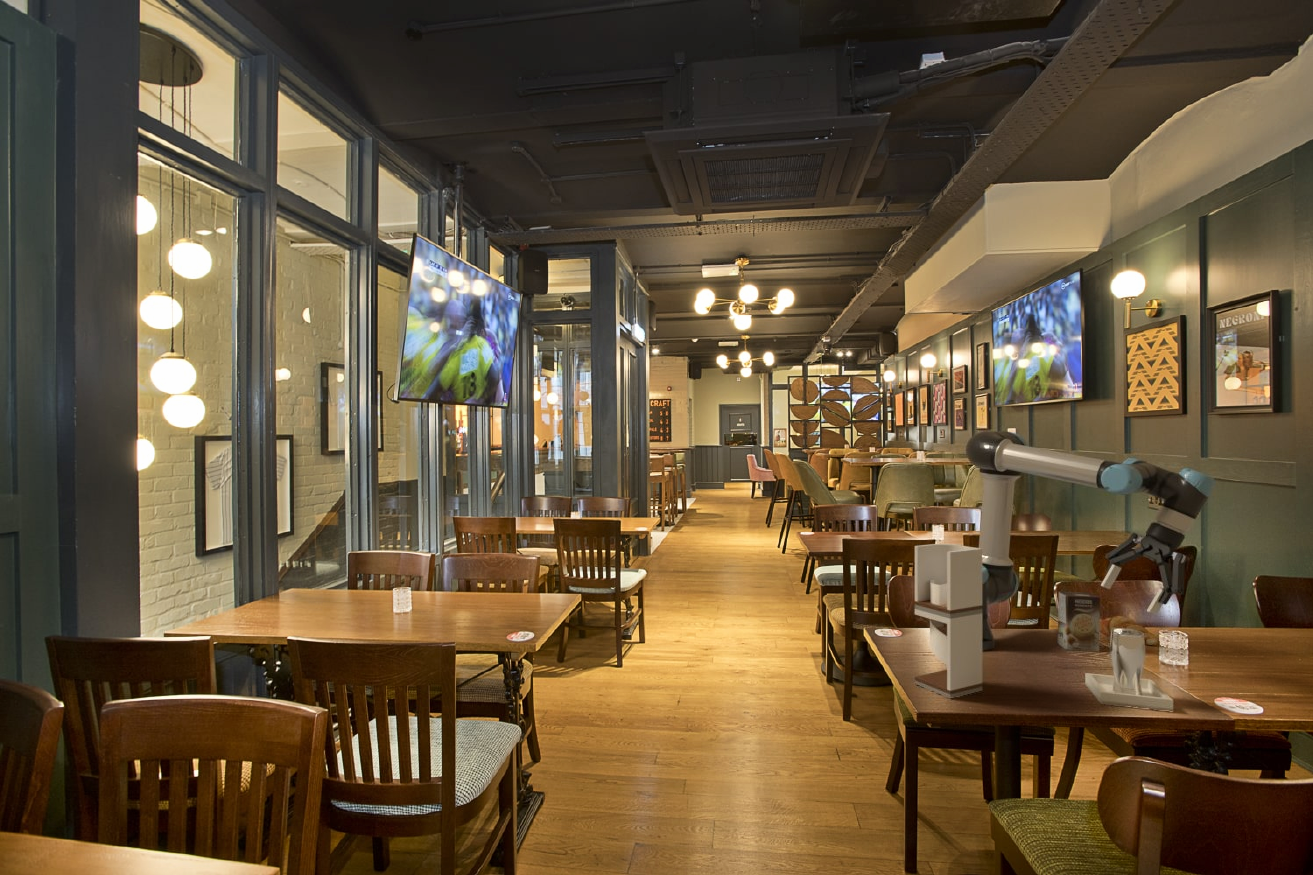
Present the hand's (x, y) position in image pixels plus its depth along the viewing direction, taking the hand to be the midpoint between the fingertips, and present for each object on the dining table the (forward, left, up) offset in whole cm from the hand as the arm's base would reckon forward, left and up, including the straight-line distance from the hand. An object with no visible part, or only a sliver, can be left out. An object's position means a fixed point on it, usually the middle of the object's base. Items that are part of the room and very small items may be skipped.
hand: (1127, 599), depth 175 cm
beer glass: (-4, -16, -20) cm, 26 cm away
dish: (-5, -16, -20) cm, 26 cm away
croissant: (+10, +42, -21) cm, 48 cm away
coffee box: (-6, +25, -21) cm, 33 cm away
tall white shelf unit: (-45, -24, -21) cm, 55 cm away
